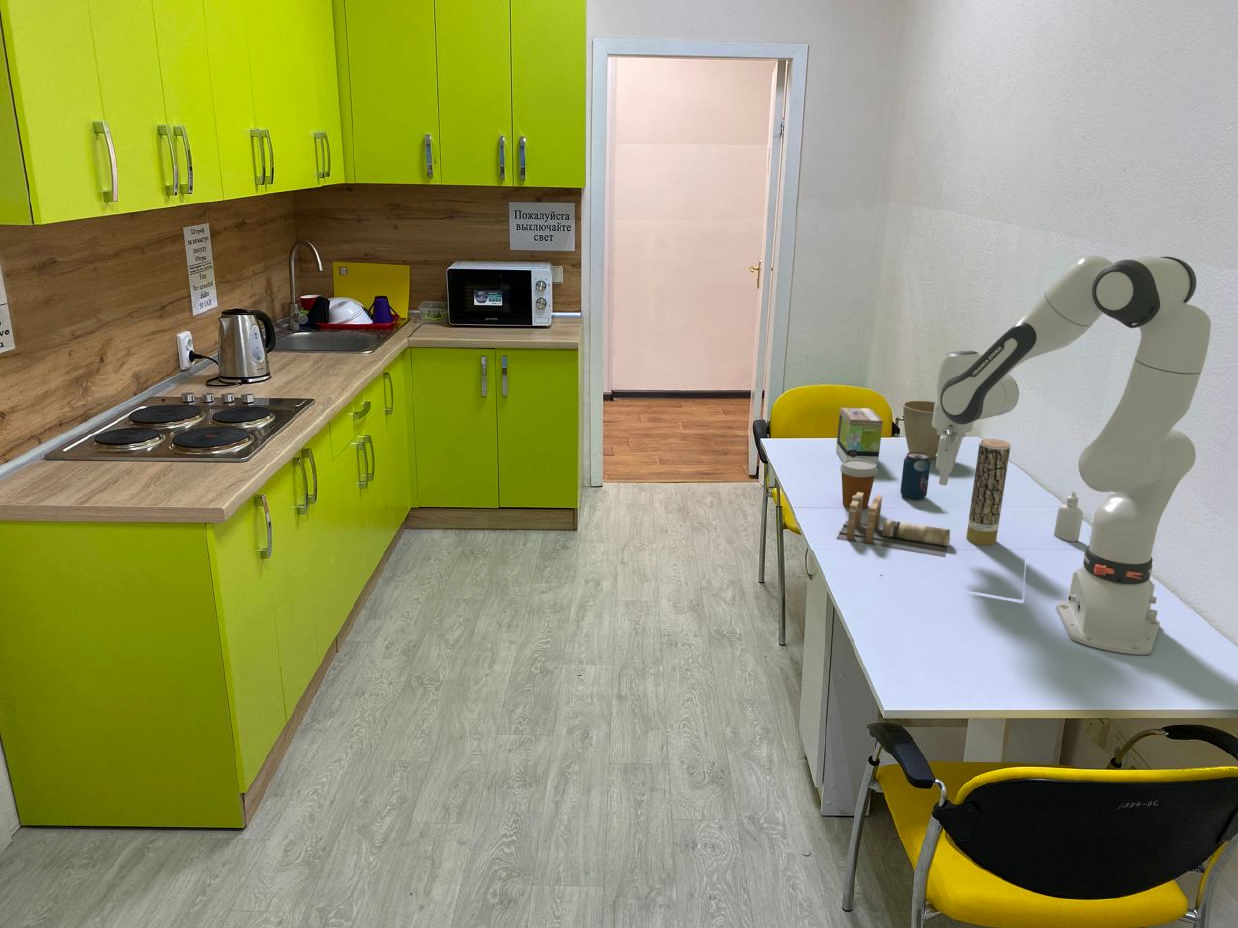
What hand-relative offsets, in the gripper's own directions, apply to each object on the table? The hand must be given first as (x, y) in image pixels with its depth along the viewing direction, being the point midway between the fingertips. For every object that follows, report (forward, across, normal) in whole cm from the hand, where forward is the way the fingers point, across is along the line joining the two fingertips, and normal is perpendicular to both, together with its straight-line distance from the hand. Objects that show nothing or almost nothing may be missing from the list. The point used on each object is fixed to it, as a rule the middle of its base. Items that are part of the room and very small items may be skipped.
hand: (945, 478), depth 222 cm
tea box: (+18, +61, +30) cm, 70 cm away
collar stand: (+17, 0, +10) cm, 20 cm away
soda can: (+18, +34, +10) cm, 39 cm away
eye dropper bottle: (+18, +20, -28) cm, 39 cm away
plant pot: (+18, +74, +12) cm, 77 cm away
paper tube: (+18, +8, -10) cm, 21 cm away
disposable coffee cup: (+18, +19, +22) cm, 34 cm away
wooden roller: (+17, 0, +5) cm, 17 cm away
